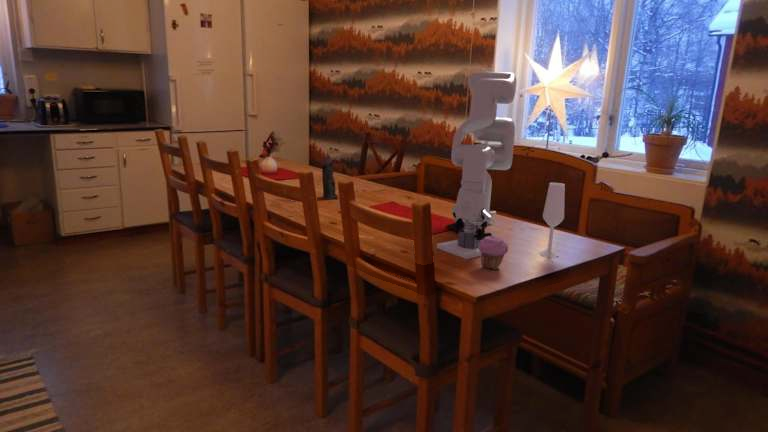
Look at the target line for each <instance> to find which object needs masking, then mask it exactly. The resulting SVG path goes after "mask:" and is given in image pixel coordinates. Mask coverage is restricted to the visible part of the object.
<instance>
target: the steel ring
mask: <svg viewBox="0 0 768 432" xmlns="http://www.w3.org/2000/svg"><path fill="white" fill-rule="evenodd" d="M457 234H458V237H457V240H458V246H459V247H462V248H468V249H475V248H478V245H479V242H480V240H476V234H477V228H475V233H465V232H464V227H463V229H459V233H457Z"/></svg>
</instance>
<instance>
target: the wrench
mask: <svg viewBox="0 0 768 432" xmlns="http://www.w3.org/2000/svg"><path fill="white" fill-rule="evenodd" d="M455 226H456V222H454V223H449V224H447V225H446V229H448V230H450V231H451V232H455ZM487 236H493V235H492V232H485V233H484V238H485V237H487ZM480 241H481V240H480Z"/></svg>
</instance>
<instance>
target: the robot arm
mask: <svg viewBox="0 0 768 432" xmlns="http://www.w3.org/2000/svg"><path fill="white" fill-rule="evenodd" d="M468 86H469V90H470V94H471V100H470V101H471V102H470V108H469V116H468V118H467V119H466V120H464V121H463V122H462V123H461V125H460V126H459V127H458V128H457V129H456V131H455V134H454V135H453V140H452V146H451V147H452V148H451V153H450V154H451V155H450V156H451V159H450V160H451V162H452V164H453V165H454V166H456V167H462V173H461V174H462V175H461V176H462V177H461V180H460V184H461V187H460V188H459V190H458V193H457V197H456V202H455V205H453V206H451V211H452V216H453V218H454V222H455V223H456V226H455V231H454V233H455V234H459V229H463V228H464V224H465V222H466V221H471V222H475V223H476V226H477V227H478V228H476V230H477V234H476V240H482V239H484V234H485V233H486V231H485V229H486V228H487V227H488V226H490V225H492V224H493V216H494V217H495V216H496V215H497V211H496V210H493V211H491V210H490V209H491V208H490V207H491V199H492V198H491V196H492V195H491V194H492V183H493V181H492V177H491V175H490V173H489V172H488V171H487V170H494V171H495V170H498V171H508V170H509V169H511V167H512V164H513V157H514V146H515V135H516V134H515V133H516V130H515V129H516V127H515V122H514V120H513V119H512V118H511V117H501V116H497V111H498V104H504V105H508V104H511V103H512V102H514V98H515V95H516V90H517V89H516V88H517V77H516V74H515V73H514V72H506V71H473V72H471V74H469V75H468ZM471 133H473V134H472V135H473V139H475V140H477V141H478V142H479V141H481V142H492V143H500V144H501V145H498V144H497V145H496V144H480V143H479V144H462V142H463V140H464V138H465V137H466V136H468V135H469V134H471Z"/></svg>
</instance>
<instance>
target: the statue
mask: <svg viewBox="0 0 768 432" xmlns="http://www.w3.org/2000/svg"><path fill="white" fill-rule="evenodd" d="M333 161H334V159H333V157H332V156H330V155H329V156H326V157H324V160H323V161H322V167H321V168H322V169H321V170H322V171H321V172H322V173H321V174H322V177H321V178H322V187H323V188H322V192H323V193H322V198H323V197H324V198H323V199H326V198H327V199H332V200H336V199H335V198H337V197H338V196H339V195H338V194H336V191H337V188H336V181H335V180H336V178H335V177H334V171H333V170H334V162H333ZM327 199H326V200H327Z"/></svg>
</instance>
